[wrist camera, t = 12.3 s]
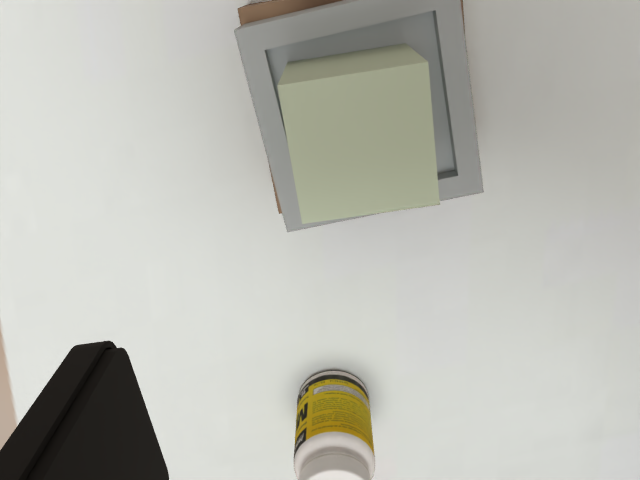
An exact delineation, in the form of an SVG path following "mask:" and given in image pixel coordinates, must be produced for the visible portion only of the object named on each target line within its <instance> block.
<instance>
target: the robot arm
mask: <svg viewBox="0 0 640 480" xmlns="http://www.w3.org/2000/svg"><path fill="white" fill-rule="evenodd" d="M0 480H169V475H168V470H167V467H166V464H165V461H164V458H163V455H162V452H161V449H160V446H159V443H158V440H157V438H156V435H155V432H154V429H153V426H152V423H151V420H150V417H149V414H148V411H147V408H146V406H145V403H144V400H143V397H142V394H141V391H140V388H139V385H138V382H137V379H136V376H135V373H134V371H133V368H132V365H131V362H130V359H129V356H128V354H127V352H126V350H125V349H123V348H116V346H115V345H114V343H113V342H111V341H103V342H96V343H89V344H81V345H76V346H74V347H73V348H72V349H71V350H70V352H69V353H68V355H67V356H66V358H65V359H64V360H63V362H62V363H61V365H60V366H59V368H58V369H57V370H56V372H55V373H54V375H53V376H52V378H51V379H50V380H49V382H48V383H47V385H46V386H45V387H44V389H43V390H42V392H41V393H40V395H39V396H38V397H37V399H36V400H35V402H34V403H33V405H32V406H31V407H30V409H29V410H28V412H27V413H26V415H25V416H24V417H23V419H22V420H21V422H20V423H19V425H18V426H17V427H16V429H15V431H14V432H13V433H12V435H11V436H10V438H9V439H8V440H7V442H6V443H5V445H4V446H3V448H2V449H1V450H0Z"/></svg>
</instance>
